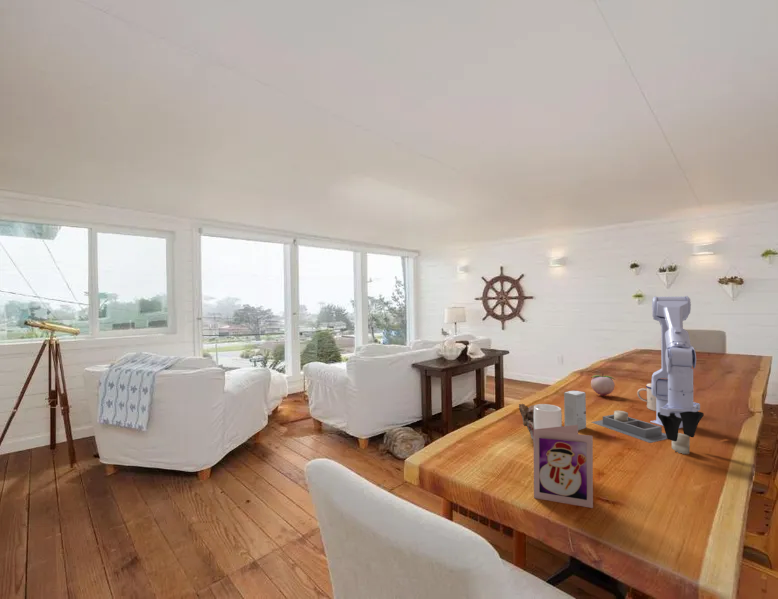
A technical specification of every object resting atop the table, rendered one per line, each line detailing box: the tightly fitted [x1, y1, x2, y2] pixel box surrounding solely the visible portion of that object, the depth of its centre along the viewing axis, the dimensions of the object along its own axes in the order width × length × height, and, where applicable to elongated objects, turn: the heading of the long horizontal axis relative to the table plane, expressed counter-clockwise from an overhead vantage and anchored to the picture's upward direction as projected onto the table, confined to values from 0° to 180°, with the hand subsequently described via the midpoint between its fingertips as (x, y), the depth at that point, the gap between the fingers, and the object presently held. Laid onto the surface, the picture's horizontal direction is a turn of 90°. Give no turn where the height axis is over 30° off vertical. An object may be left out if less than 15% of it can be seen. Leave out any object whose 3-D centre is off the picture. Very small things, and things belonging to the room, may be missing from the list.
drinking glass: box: [534, 403, 563, 429], centre depth 98 cm, size 7×7×15 cm
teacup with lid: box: [636, 383, 656, 412], centre depth 146 cm, size 12×9×12 cm
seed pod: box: [518, 403, 536, 444], centre depth 114 cm, size 13×16×15 cm
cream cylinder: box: [671, 432, 691, 455], centre depth 106 cm, size 4×4×4 cm
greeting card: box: [533, 425, 594, 509], centre depth 82 cm, size 11×7×15 cm, turn 69°
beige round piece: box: [613, 410, 629, 422], centre depth 125 cm, size 4×4×4 cm
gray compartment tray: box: [590, 414, 668, 444], centre depth 122 cm, size 12×20×3 cm, turn 22°
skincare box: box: [563, 390, 587, 431], centre depth 124 cm, size 6×4×12 cm
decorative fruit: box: [590, 373, 616, 397], centre depth 165 cm, size 9×8×10 cm
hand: (680, 438), depth 106 cm, fingers open, 7 cm apart
